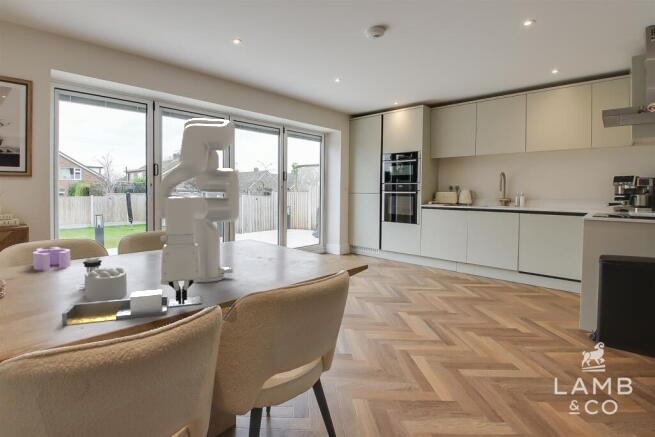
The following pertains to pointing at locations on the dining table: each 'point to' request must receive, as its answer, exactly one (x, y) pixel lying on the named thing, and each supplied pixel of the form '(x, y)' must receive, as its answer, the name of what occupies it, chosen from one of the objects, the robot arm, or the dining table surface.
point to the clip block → (146, 301)
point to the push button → (91, 265)
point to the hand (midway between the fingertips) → (181, 302)
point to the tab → (187, 302)
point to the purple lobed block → (51, 258)
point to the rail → (105, 311)
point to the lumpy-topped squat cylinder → (105, 284)
